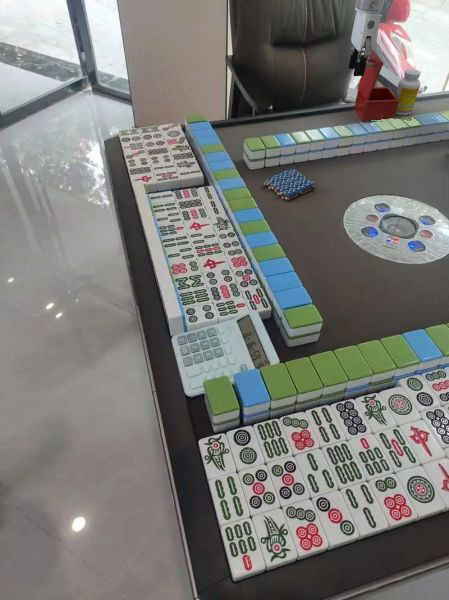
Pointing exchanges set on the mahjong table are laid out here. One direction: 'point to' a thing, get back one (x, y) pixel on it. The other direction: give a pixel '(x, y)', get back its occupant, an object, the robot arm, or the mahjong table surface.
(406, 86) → the supplement bottle
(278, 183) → the woven mat
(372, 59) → the lid
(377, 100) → the box
